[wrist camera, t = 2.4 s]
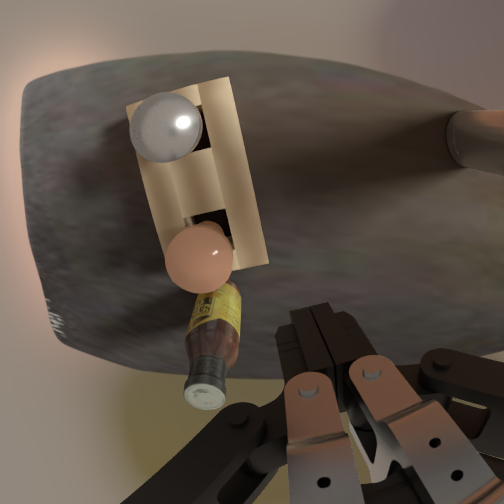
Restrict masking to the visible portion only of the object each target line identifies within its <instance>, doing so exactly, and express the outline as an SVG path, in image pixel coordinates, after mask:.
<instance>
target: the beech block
mask: <svg viewBox="0 0 504 504" xmlns="http://www.w3.org/2000/svg"><path fill="white" fill-rule="evenodd" d="M170 92H172V93H177V94H180V95H182V96H184V97H185V98H187V99H188V100H189V101H191V102H192V103H193V104H194V105H195V106H196V107H197V109H198V111H199V113H201V112H203V113H204V118H205V122H206V127H207V131H208V135H209V140H210V144H211V148H207V149H203V150H199V151H195V152H191V153H189V154H188V155H187V156H185V157H183V158H181V159H179V160H176V161H172V162H167V163H157V162H152V161H149V160H147V159H145V158H144V157H142V156H141V155H140V154H139V153H138V152H137V151H136V150H135V151H136V155H137V159H138V163H139V167H140V171H141V175H142V179H143V183H144V187H145V191H146V195H147V198H148V202H149V206H150V209H151V213H152V216H153V220H154V223H155V227H156V230H157V233H158V237H159V240H160V243H161V247H162V250H163V253H164V256H165V255H166V251H167V248H168V246H169V244H170V243H171V241H172V240H173V239H174V237H175V236H176V235H177V234H178V233H179V232H180V231H181V230H182V229H184V228H186V227H188V226H191V225H196V223H195V219H194V215H198V214H202V213H207V212H211V211H216V210H220V209H226V213H227V217H228V221H229V226H230V230H231V234H232V236H229V237H227V239H228V240H229V242H230V244H231V247H232V250H233V264H232V271H233V270H238V269H243V268H248V267H253V266H258V265H263V264H268V263H269V261H268V256H267V251H266V246H265V241H264V236H263V232H262V227H261V222H260V217H259V213H258V208H257V203H256V198H255V194H254V189H253V184H252V180H251V175H250V170H249V166H248V161H247V157H246V152H245V147H244V143H243V138H242V134H241V129H240V125H239V120H238V116H237V111H236V107H235V102H234V98H233V93H232V89H231V85H230V80H229V77H224V78H220V79H215V80H211V81H207V82H203V83H199V84H195V85H191V86H188V87H184V88H181V89H177V90H174V91H170ZM143 101H144V100H142V101H139V102H136V103H134V104H131V105H128V106H126V109H127V114H128V119H129V124H130V122H131V118H132V115H133V113H134V111H135V110H136V108H137V107H138V106H139V105H140V104H141V103H142V102H143ZM172 281H173V280H172ZM173 282H174V281H173Z"/></svg>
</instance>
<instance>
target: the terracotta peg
mask: <svg viewBox="0 0 504 504" xmlns="http://www.w3.org/2000/svg"><path fill="white" fill-rule="evenodd" d="M232 264H233V250H232V247H231V244H230V242H229V240H228V239H227V237H226V236H225V235H224V232H223V230H222V228H221V227H220V226H219V225H218V224H217V223H215V222H212V221H203V222H201V223H199V224H196V225H191V226H188V227H186V228H184V229H182V230H181V231H180V232H179V233H178V234H177V235H176V236H175V237H174V239H173V240H172V241H171V243H170V244H169V246H168V248H167V251H166V255H165V265H166V269H167V272H168V274H169V276H170V277H171V279H172V280H173V281H174V282H175V283H176V284H177V285H178V286H179V287H181V288H182V289H184V290H186V291H189V292H192V293H209V292H212V291H215V290H217V289H218V288H220V287H221V286H222V285H223V284H225V282H226V281H227V280H228V278H229V276H230V274H231V271H232Z"/></svg>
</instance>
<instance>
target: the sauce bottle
mask: <svg viewBox="0 0 504 504" xmlns="http://www.w3.org/2000/svg"><path fill="white" fill-rule="evenodd" d="M240 319H241V297H240V292H239V289H238V287H237V286H236V285H235V284H234V283H233V282H232V281H230V280H227V281H226V282H225V284H223V285H222V286H221V287H220V288H218V289H217V290H215V291H212V292H209V293H198V296H197V300H196V303H195V306H194V310H193V313H192V317H191V320H190V324H189V327H188V331H187V334H186V338H185V347H186V351H187V355H188V359H189V362H190V367H189V368H190V372H189V376H188V379H187V381H186V382H185V386H184V398H185V400H186V401H187V402H188V403H189V404H190V405H192V406H194V407H196V408H199V409H204V410H210V409H211V410H213V409H216V408H219V407H221V406H222V405H223V404H224V402H225V399H226V387H225V377H226V374H227V370H228V369H230V368H231V367H232V366H233V365H234V363H235V362H236V359H237V355H238V345H239V341H240Z"/></svg>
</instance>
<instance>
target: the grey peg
mask: <svg viewBox="0 0 504 504" xmlns="http://www.w3.org/2000/svg"><path fill="white" fill-rule="evenodd" d="M202 128H203V125H202V118H201V115H200V113H199V111H198V109H197V107H196V106H195V105H194V104H193V103H192V102H191V101H189V100H188V99H187V98H185V97H184V96H182V95H180V94H177V93H172V92H162V93H157V94H154V95H152V96H150V97H148V98H147V99H145V100H144V101H143V102H142V103H141V104H140V105H139V106H138V107H137V108H136V110H135V111H134V113H133V115H132V118H131V122H130V128H129V130H130V139H131V142H132V144H133V146H134V148H135V150H136V151H137V152H138V153H139V154H140V155H141V156H142V157H144V158H145V159H147V160H149V161H152V162H157V163H167V162H172V161H176V160H179V159H181V158H183V157H185V156H187V155H188V154H189V153H191V152H192V151H193V150H194V148H195V147H196V146H197V144H198V142H199V140H200V138H201V134H202Z"/></svg>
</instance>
